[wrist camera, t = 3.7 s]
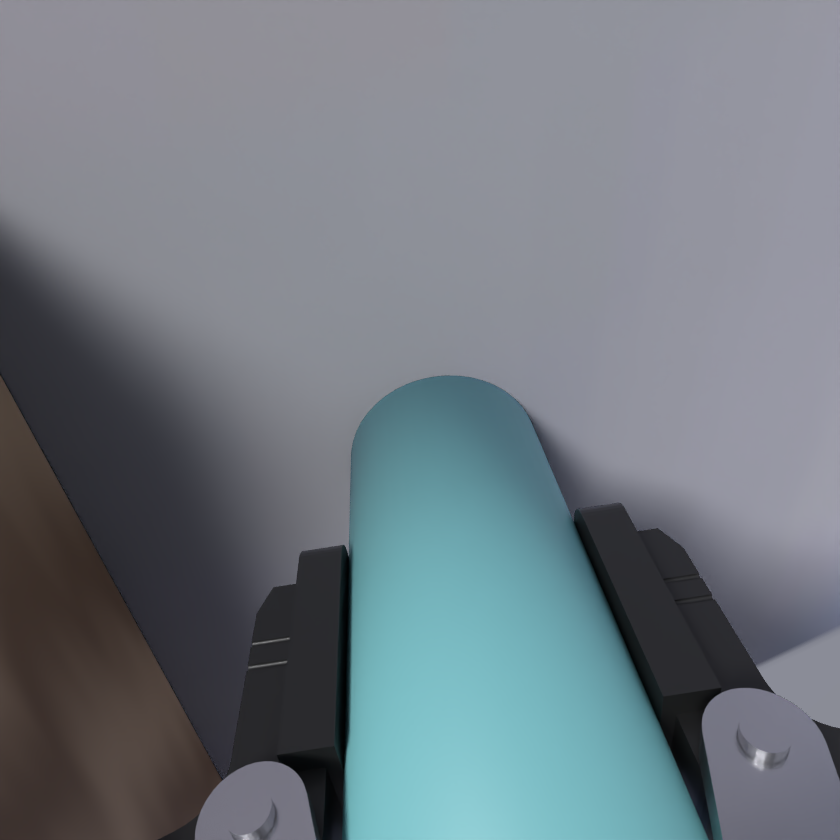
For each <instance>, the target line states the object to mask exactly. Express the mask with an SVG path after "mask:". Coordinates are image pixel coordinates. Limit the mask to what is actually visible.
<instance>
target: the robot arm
mask: <svg viewBox="0 0 840 840" xmlns="http://www.w3.org/2000/svg"><path fill="white" fill-rule="evenodd" d="M574 524H575V526H576V528H577V531H578V533H579V536H580V538H581V540H582V543H583V545H584V547H585V550H586V552H587V554H588V557H589V559H590V561H591V564H592V566H593V568H594V571H595V573H596V576H597V578H598V580H599V583H600V585H601V587H602V590H603V592H604V594H605V597H606V599H607V601H608V604H609V606H610V608H611V611H612V613H613V616H614V618H615V620H616V623H617V625H618V627H619V630H620V632H621V634H622V637H623V639H624V641H625V644H626V646H627V648H628V651H629V653H630V655H631V658H632V660H633V663H634V665H635V667H636V670H637V672H638V674H639V677H640V679H641V681H642V684H643V686H644V688H645V691H646V693H647V695H648V698H649V700H650V703H651V705H652V707H653V710H654V712H655V714H656V717H657V719H658V721H659V724H660V726H661V728H662V731H663V733H664V735H665V738H666V740H667V742H668V745H669V747H670V750H671V752H672V754H673V757H674V759H675V761H676V764H677V766H678V768H679V771H680V773H681V775H682V778H683V780H684V782H685V785H686V787H687V790H688V792H689V794H690V797H691V799H692V801H693V804H694V806H695V808H696V811H697V813H698V815H699V818H700V820H701V822H702V825H703V827H704V830H705V832H706V834H707V837H708V839H709V840H840V728H835V727H831V726H828V725H825V724H822V723H819V722H817V721H815V720H813V719H811V718H810V717H809V716H808V715H807V714H806V713H804V711H803V710H801V709H800V708H799V707H797V706H796V705H795V704H793V703H792V702H790V701H788V700H787V699H785V698H783V697H781V696H778V695H776V694H775V693H774V692H773V691H772V690H771V688H770V687H769V686H768V685H767V683H766V682H765V680H764V679H763V677H762V676H761V674H760V672H759V671H758V669H757V667H756V666H755V664H754V663H753V661H752V659H751V658H750V656H749V654H748V653H747V651H746V649H745V648H744V646H743V645H742V643H741V641H740V640H739V638H738V636H737V635H736V633H735V631H734V630H733V628H732V627H731V625H730V623H729V622H728V620H727V618H726V617H725V615H724V614H723V612H722V610H721V609H720V607H719V605H718V604H717V602H716V600H713V598H712V594H711V592H710V591H709V589H708V587H707V586H706V584H705V582H704V581H703V579H702V578H701V579H700V577H699V573H698V571H697V569H696V568H695V566H694V565H693V563H692V561H691V560H690V558H689V556H688V555H687V553H686V551H685V550H684V548H683V547H681V546H680V545H679V544H677V543H676V542H675V541H674V540H672V539H671V538H670V537H668V536H667V535H666V534H664V533H663V532H662V531H661V530H659V529H658V528H657V529H651V530H644V531H638V532H637V530H636V528H635V527H634V525H633V523H632V521H631V519H630V517H629V516H628V514H627V512H626V510H625V508H624V507H623V506H622V504H620V503H614V504H608V505H601V506H595V507H588V508H582V509H577V510H576V511H575V515H574ZM348 570H349V557H348V553H347V550H346V547H345V546H344V545H340V546H334V547H328V548H321V549H315V550H308V551H302V552H301V553H300V556H299V564H298V572H297V581H296V584H292V585H286V586H279V587H273V589H272V590H271V592H270V594H269V595H268V597H267V598H266V600H265V602H264V603H263V605H262V606H261V608H260V609H259V611H258V613H257V616H256V621H255V627H254V633H253V638H252V647H251V650H250V656H249V661H248V671H247V673H246V678H245V684H244V690H243V695H242V701H241V707H240V713H239V718H238V724H237V730H236V735H235V741H234V747H233V752H232V758H231V763H230V767H229V770H228V773H227V775H226V778H225V779H224V780H223V781H222V782H220V783H219V784H218V786H217V787H216V788H215V789H214V790H213V791H212V793H211V794H210V795H209V797H208V798H207V800H206V802H205V804H204V805H203V807H202V809H201V812H200V813H199V814H198V815H197V816H196V817H195V818H194V819H192V820H191V821H190V822H188V823H187V824H186V825H184V826H182V827H181V828H179V829H177V830H175V831H174V832H172V833H170V834H168V835H166V836H164V837H162V838H160V839H158V840H342V829H343V786H344V746H345V702H346V658H347V614H348Z"/></svg>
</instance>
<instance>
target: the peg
mask: <svg viewBox="0 0 840 840" xmlns="http://www.w3.org/2000/svg"><path fill="white" fill-rule="evenodd" d="M342 840H709V839H708V837H707V834H706V832H705V830H704V827H703V825H702V822H701V820H700V818H699V815H698V813H697V811H696V808H695V806H694V804H693V801H692V799H691V797H690V794H689V792H688V790H687V787H686V785H685V782H684V780H683V778H682V775H681V773H680V771H679V768H678V766H677V764H676V761H675V759H674V757H673V754H672V752H671V750H670V747H669V745H668V742H667V740H666V738H665V735H664V733H663V731H662V728H661V726H660V724H659V721H658V719H657V717H656V714H655V712H654V710H653V707H652V705H651V703H650V700H649V698H648V695H647V693H646V691H645V688H644V686H643V684H642V681H641V679H640V677H639V674H638V672H637V670H636V667H635V665H634V663H633V660H632V658H631V655H630V653H629V651H628V648H627V646H626V644H625V641H624V639H623V637H622V634H621V632H620V630H619V627H618V625H617V623H616V620H615V618H614V616H613V613H612V611H611V608H610V606H609V604H608V601H607V599H606V597H605V594H604V592H603V590H602V587H601V585H600V583H599V580H598V578H597V576H596V573H595V571H594V568H593V566H592V564H591V561H590V559H589V557H588V554H587V552H586V550H585V547H584V545H583V543H582V540H581V538H580V536H579V533H578V531H577V528H576V526H575V524H574V521H573V519H572V517H571V514H570V512H569V510H568V507H567V505H566V503H565V500H564V498H563V496H562V493H561V491H560V488H559V486H558V484H557V481H556V479H555V477H554V474H553V472H552V470H551V467H550V465H549V463H548V460H547V458H546V456H545V453H544V451H543V449H542V446H541V444H540V441H539V439H538V437H537V434H536V432H535V430H534V427H533V425H532V423H531V421H530V419H529V417H528V415H527V413H526V412H525V410H524V409H523V407H522V406H521V405H520V404H519V403H518V402H517V401H516V400H515V399H514V398H513V397H512V396H511V395H509V394H508V393H507V392H505V391H504V390H502V389H500V388H499V387H497V386H495V385H493V384H490V383H488V382H485V381H483V380H479V379H475V378H471V377H464V376H437V377H430V378H426V379H421V380H418V381H415V382H412V383H409V384H406V385H404V386H402V387H400V388H398V389H396V390H394V391H393V392H391V393H390V394H388V395H387V396H385V397H384V398H383V399H382V400H380V401H379V402H378V403H377V404H376V405H375V406H374V407H373V408H372V409H371V410H370V411H369V412H368V413H367V415H366V416H365V418H364V419H363V420H362V422H361V424H360V426H359V428H358V430H357V432H356V434H355V437H354V440H353V445H352V451H351V483H350V526H349V570H348V614H347V658H346V702H345V746H344V786H343V829H342Z"/></svg>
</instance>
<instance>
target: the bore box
mask: <svg viewBox="0 0 840 840" xmlns="http://www.w3.org/2000/svg"><path fill="white" fill-rule="evenodd" d="M220 782H222V779H221V777H220V776H219V774H218V772H217V770H216V768H215V767H214V765H213V763H212V761H211V759H210V757H209V756H208V754H207V752H206V750H205V748H204V746H203V745H202V743H201V741H200V739H199V737H198V735H197V734H196V732H195V730H194V728H193V726H192V724H191V723H190V721H189V719H188V717H187V715H186V714H185V712H184V710H183V708H182V706H181V704H180V703H179V701H178V699H177V697H176V695H175V693H174V692H173V690H172V688H171V686H170V684H169V682H168V681H167V679H166V677H165V675H164V673H163V671H162V670H161V668H160V666H159V664H158V662H157V661H156V659H155V657H154V655H153V653H152V651H151V650H150V648H149V646H148V644H147V642H146V640H145V639H144V637H143V635H142V633H141V631H140V629H139V628H138V626H137V624H136V622H135V620H134V618H133V617H132V615H131V613H130V611H129V609H128V607H127V606H126V604H125V602H124V600H123V598H122V597H121V595H120V593H119V591H118V589H117V587H116V586H115V584H114V582H113V580H112V578H111V576H110V575H109V573H108V571H107V569H106V567H105V565H104V564H103V562H102V560H101V558H100V556H99V554H98V553H97V551H96V549H95V547H94V545H93V544H92V542H91V540H90V538H89V536H88V534H87V533H86V531H85V529H84V527H83V525H82V523H81V522H80V520H79V518H78V516H77V514H76V512H75V511H74V509H73V507H72V505H71V503H70V501H69V500H68V498H67V496H66V494H65V492H64V491H63V489H62V487H61V485H60V483H59V481H58V480H57V478H56V476H55V474H54V472H53V470H52V469H51V467H50V465H49V463H48V461H47V459H46V458H45V456H44V454H43V452H42V450H41V448H40V447H39V445H38V443H37V441H36V439H35V437H34V436H33V434H32V432H31V430H30V428H29V427H28V425H27V423H26V421H25V419H24V417H23V416H22V414H21V412H20V410H19V408H18V406H17V405H16V403H15V401H14V399H13V397H12V395H11V394H10V392H9V390H8V388H7V386H6V384H5V383H4V381H3V379H2V377H1V375H0V840H158V839H160V838H162V837H164V836H166V835H168V834H170V833H172V832H174V831H175V830H177V829H179V828H181V827H182V826H184V825H186V824H187V823H188V822H190V821H191V820H192V819H194V818H195V817H196V816H197V815H198V814H199V813H200V812H201V809H202V807H203V805H204V804H205V802H206V800H207V798H208V797H209V795H210V794H211V793H212V791H213V790H214V789H215V788H216V787H217V786H218V784H219V783H220Z"/></svg>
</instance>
